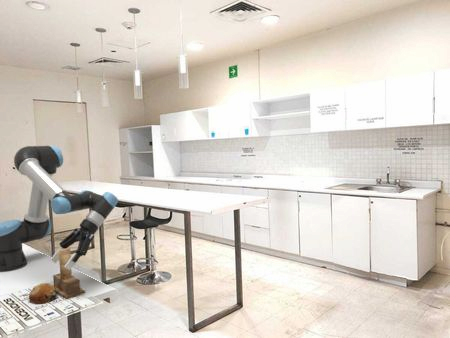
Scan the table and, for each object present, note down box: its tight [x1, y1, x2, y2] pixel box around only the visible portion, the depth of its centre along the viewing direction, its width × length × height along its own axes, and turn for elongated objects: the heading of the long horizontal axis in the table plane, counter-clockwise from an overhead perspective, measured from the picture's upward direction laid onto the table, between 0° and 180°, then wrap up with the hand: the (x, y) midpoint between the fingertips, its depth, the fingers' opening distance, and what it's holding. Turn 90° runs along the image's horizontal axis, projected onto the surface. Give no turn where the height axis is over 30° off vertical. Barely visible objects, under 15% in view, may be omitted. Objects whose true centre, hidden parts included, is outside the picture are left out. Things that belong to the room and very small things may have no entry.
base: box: [52, 273, 86, 300], centre depth 148 cm, size 16×8×6 cm, turn 49°
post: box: [58, 247, 73, 280], centre depth 147 cm, size 4×4×12 cm
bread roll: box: [28, 282, 58, 305], centre depth 141 cm, size 10×10×8 cm
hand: (59, 264), depth 145 cm, fingers open, 13 cm apart
